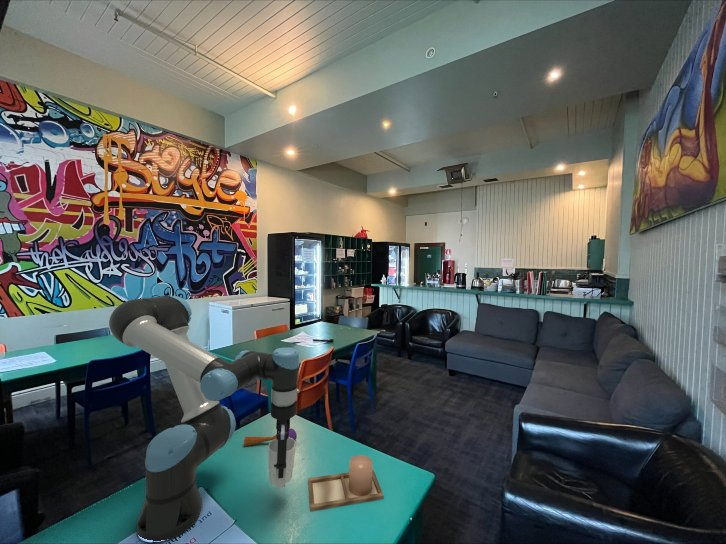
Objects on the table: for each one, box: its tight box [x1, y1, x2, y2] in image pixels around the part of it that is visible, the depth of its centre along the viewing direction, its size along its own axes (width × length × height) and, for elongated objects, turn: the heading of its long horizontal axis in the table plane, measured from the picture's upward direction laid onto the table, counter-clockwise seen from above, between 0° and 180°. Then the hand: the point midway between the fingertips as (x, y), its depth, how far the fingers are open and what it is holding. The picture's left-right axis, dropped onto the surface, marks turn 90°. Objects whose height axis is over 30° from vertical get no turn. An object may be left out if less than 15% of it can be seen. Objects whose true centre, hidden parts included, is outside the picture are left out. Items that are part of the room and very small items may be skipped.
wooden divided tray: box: [307, 468, 385, 512], centre depth 92 cm, size 22×12×2 cm, turn 104°
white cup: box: [267, 437, 297, 485], centre depth 88 cm, size 8×8×10 cm
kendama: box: [243, 427, 298, 447], centre depth 117 cm, size 6×6×20 cm
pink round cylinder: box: [348, 454, 374, 496], centre depth 93 cm, size 7×7×8 cm
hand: (280, 476), depth 88 cm, fingers closed on white cup, 7 cm apart
